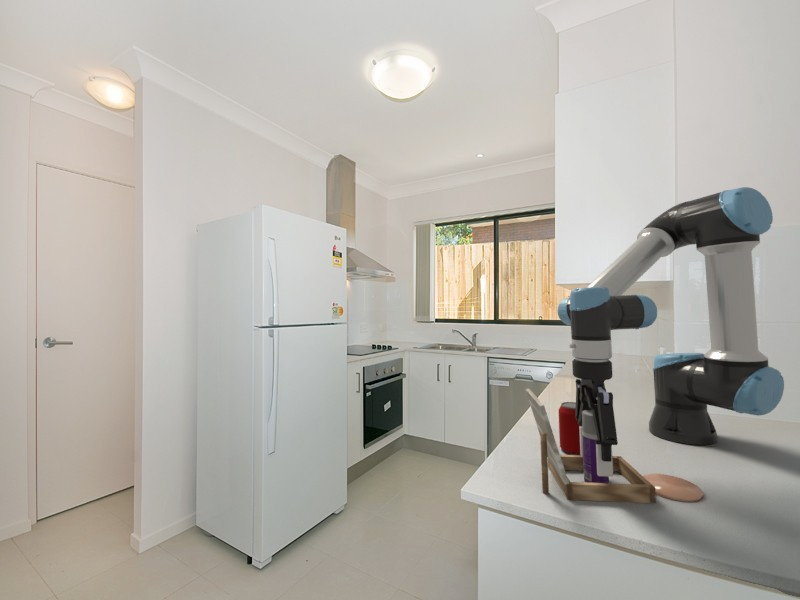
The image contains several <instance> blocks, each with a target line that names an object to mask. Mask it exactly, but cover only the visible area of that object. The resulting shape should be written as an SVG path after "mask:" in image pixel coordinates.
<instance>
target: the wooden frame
mask: <svg viewBox="0 0 800 600" xmlns="http://www.w3.org/2000/svg"><path fill="white" fill-rule="evenodd" d="M525 392H526V394H527V397H528V401H529V402H528V403H529V405H530V408H531V412H532V415H533V417H534V421H535V424H536V427H537V429H538V432H539V433H538V434H539V436H540V438H539V439H540V457H541V459H540V462H541V483H542V484H541V487H542V491H541V492H542V493H543V494H546V495H547V494H550V493H549V492H550V490H549V489H550V487H549V471H550V473H551V474H552V476H553V477H554V480H555V481H556V482H557V484H558V486H559V487H560V490H561V491H562V493H563V494H564V496H565V498H566V499H567V500H569V501H571V500H572V501H593V502H594V501H595V502H617V503H618V502H619V503H639V504H641V503H642V504H643V503H645V504H657V498H656V496H657V495H656V494H655V487H654V486H653V485H652V484H651V483H650V482H649V481H648V480H646V479H645V478H644V477H643V476H644V475H642V474H641V473H640V472H639V471H638V470H637V469H635V468H634V467H633V465H632V464H630V463H629V462H628V461H626V459H624V458H623V457H622V456H620V455H612V461H613V472H619V474H621V475H622V476H623V477H624V478H625V480H626V481H628V482H629V483H617V482H616V483H615V482H614V483H612V482H609V483H587V482H582V481H581V482H580V481H571V480H570V478H569V477H568V475H567V472H566V471H584V465H583V456H581V455H574V454H560V451H559V448H558V445H557V441H556V438H555V435H554V432H553V428H552V426H551V422H550V420H549V416H548V413H547V411H546V407H545V405H544V403H543V402H542V401H541V400H540V399H539V398H538V397H537V396H536V395H535V394H534V392H533V391H532V390H531V389H530V388H525Z"/></svg>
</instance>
